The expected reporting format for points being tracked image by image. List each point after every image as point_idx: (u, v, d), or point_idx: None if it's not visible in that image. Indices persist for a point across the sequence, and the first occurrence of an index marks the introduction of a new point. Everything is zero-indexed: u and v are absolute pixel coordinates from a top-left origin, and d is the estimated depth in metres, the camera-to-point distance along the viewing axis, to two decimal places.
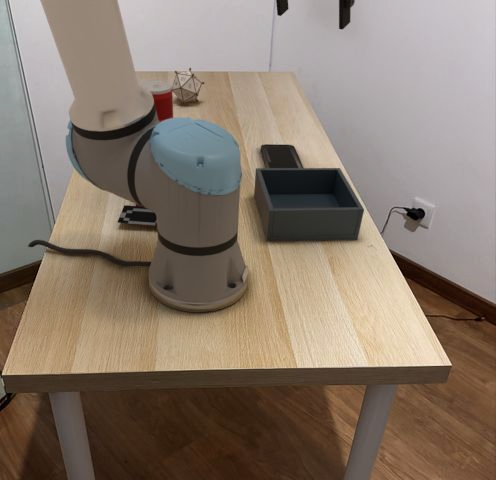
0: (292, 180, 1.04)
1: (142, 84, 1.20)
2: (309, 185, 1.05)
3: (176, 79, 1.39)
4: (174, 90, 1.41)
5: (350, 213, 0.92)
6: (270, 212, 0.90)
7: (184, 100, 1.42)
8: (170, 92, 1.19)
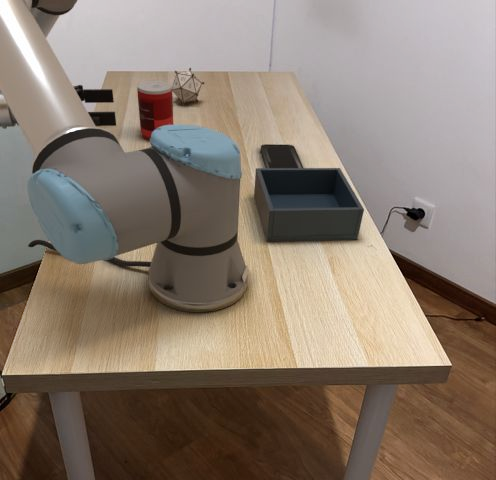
0: (292, 180, 1.04)
1: (142, 84, 1.20)
2: (309, 185, 1.05)
3: (176, 79, 1.39)
4: (174, 90, 1.41)
5: (350, 213, 0.92)
6: (270, 212, 0.90)
7: (184, 100, 1.42)
8: (170, 92, 1.19)
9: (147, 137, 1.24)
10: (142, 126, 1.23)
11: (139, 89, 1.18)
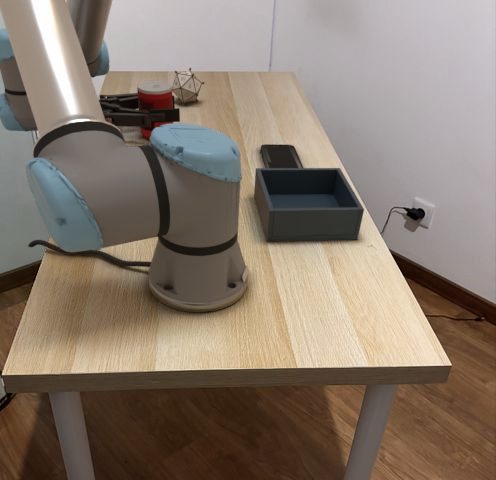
0: (292, 180, 1.04)
1: (142, 84, 1.20)
2: (309, 185, 1.05)
3: (176, 79, 1.39)
4: (174, 90, 1.41)
5: (350, 213, 0.92)
6: (270, 212, 0.90)
7: (184, 100, 1.42)
8: (170, 92, 1.19)
9: (147, 137, 1.24)
10: None
11: (139, 89, 1.18)
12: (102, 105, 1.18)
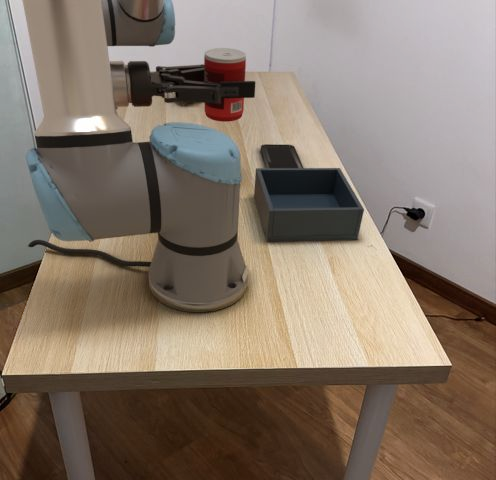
0: (292, 180, 1.04)
1: (210, 52, 0.99)
2: (309, 185, 1.05)
3: None
4: None
5: (350, 213, 0.92)
6: (270, 212, 0.90)
7: None
8: (244, 61, 0.98)
9: (213, 117, 1.03)
10: (208, 103, 1.02)
11: (208, 57, 0.97)
12: (163, 77, 0.97)
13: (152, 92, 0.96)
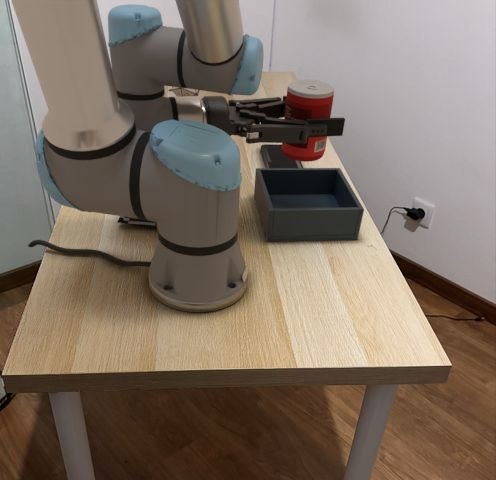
0: (292, 180, 1.04)
1: (293, 85, 0.88)
2: (309, 185, 1.05)
3: None
4: (174, 90, 1.41)
5: (350, 213, 0.92)
6: (270, 212, 0.90)
7: None
8: (333, 95, 0.87)
9: (294, 156, 0.91)
10: None
11: (293, 91, 0.85)
12: (242, 114, 0.85)
13: (230, 131, 0.85)
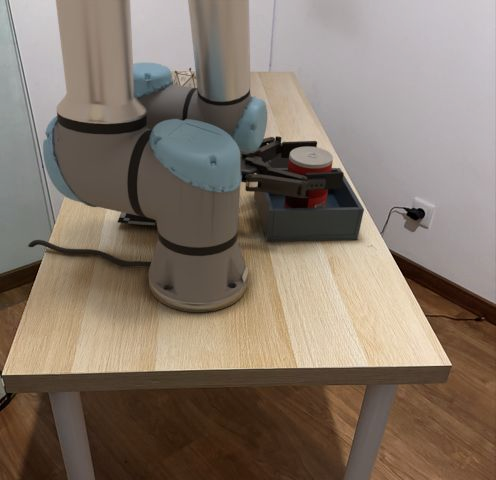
0: None
1: (294, 153, 0.94)
2: None
3: (176, 79, 1.39)
4: None
5: (350, 213, 0.92)
6: (270, 212, 0.90)
7: None
8: (331, 164, 0.93)
9: None
10: (290, 204, 0.97)
11: (294, 161, 0.91)
12: (248, 162, 0.89)
13: None
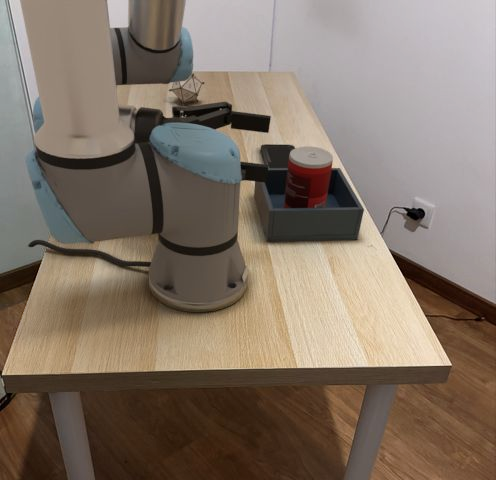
0: None
1: (294, 153, 0.94)
2: None
3: None
4: (174, 90, 1.41)
5: (350, 213, 0.92)
6: (270, 212, 0.90)
7: (184, 100, 1.42)
8: (331, 163, 0.93)
9: None
10: (290, 204, 0.97)
11: (294, 161, 0.91)
12: None
13: None
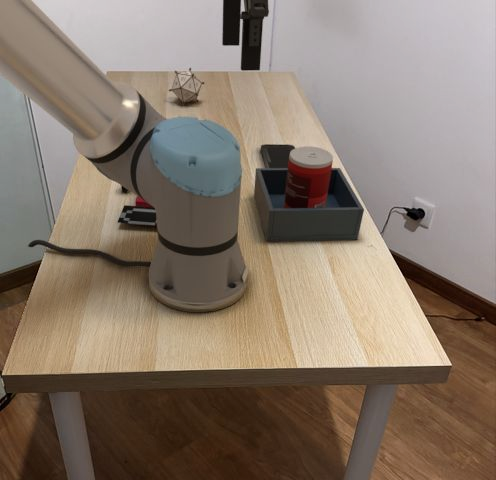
0: None
1: (294, 153, 0.94)
2: None
3: (176, 79, 1.39)
4: (174, 90, 1.41)
5: (350, 213, 0.92)
6: (270, 212, 0.90)
7: (184, 100, 1.42)
8: (331, 163, 0.93)
9: None
10: (290, 204, 0.97)
11: (294, 161, 0.91)
12: None
13: None
